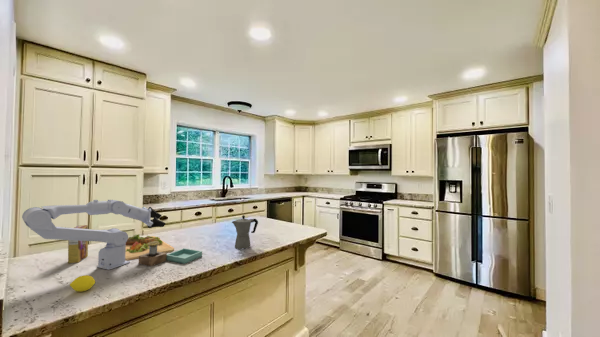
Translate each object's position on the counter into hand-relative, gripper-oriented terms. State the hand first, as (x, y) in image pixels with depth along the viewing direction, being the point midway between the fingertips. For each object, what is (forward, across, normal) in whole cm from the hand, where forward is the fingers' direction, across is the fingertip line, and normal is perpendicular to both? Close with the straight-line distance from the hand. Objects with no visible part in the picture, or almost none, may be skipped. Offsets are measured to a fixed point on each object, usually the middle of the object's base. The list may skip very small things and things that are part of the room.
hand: (162, 220), depth 132 cm
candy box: (-19, +6, +33) cm, 39 cm away
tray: (+10, -19, +6) cm, 23 cm away
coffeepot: (+40, -20, -9) cm, 46 cm away
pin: (-1, -16, +13) cm, 21 cm away
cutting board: (+5, +9, +23) cm, 25 cm away
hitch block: (-1, -16, +13) cm, 21 cm away
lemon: (-26, -30, +20) cm, 45 cm away
